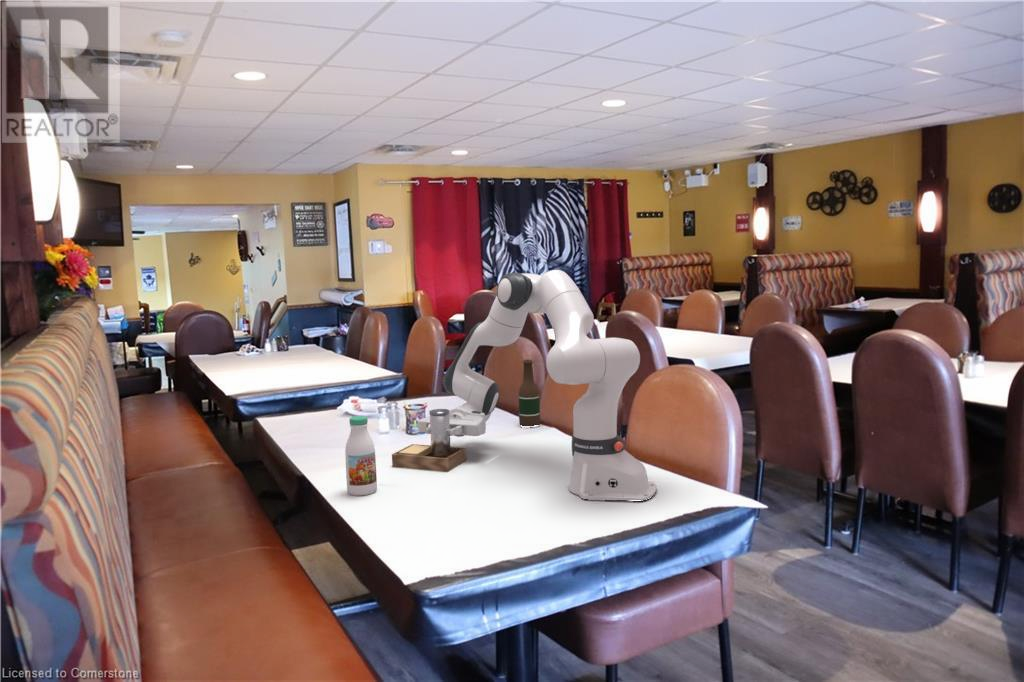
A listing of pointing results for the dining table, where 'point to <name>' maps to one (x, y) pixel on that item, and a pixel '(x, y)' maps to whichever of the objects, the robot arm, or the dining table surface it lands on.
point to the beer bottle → (528, 398)
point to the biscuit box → (416, 450)
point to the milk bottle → (360, 459)
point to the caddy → (430, 460)
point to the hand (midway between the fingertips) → (438, 432)
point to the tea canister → (440, 432)
